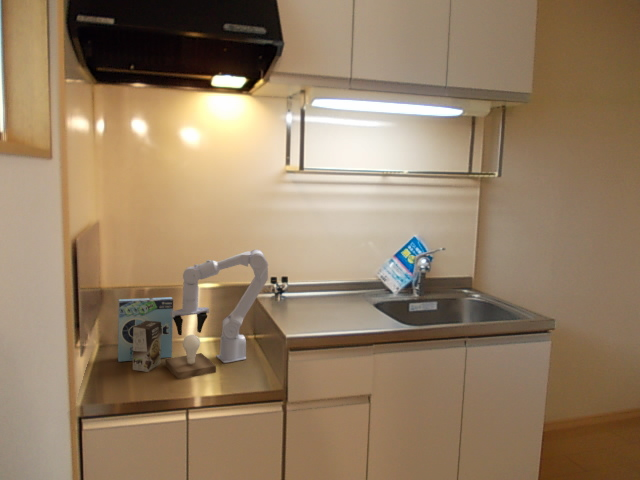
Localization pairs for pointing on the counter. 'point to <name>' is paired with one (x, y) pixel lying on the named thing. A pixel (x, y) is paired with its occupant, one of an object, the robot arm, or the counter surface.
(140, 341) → the coffee box
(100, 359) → the counter surface
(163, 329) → the light blue product box
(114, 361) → the counter surface
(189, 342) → the lightbulb
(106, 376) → the counter surface
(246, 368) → the counter surface
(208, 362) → the walnut base
